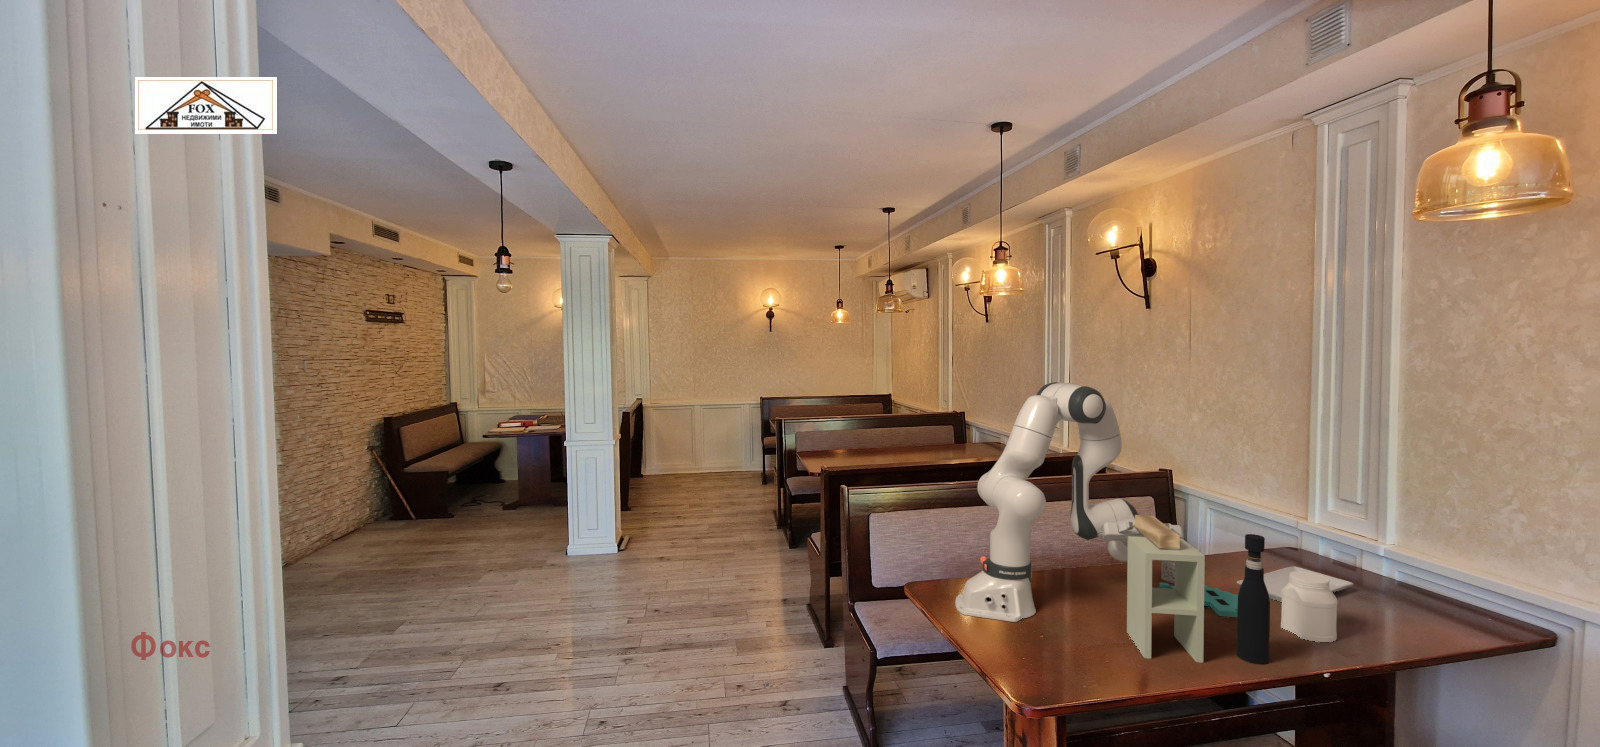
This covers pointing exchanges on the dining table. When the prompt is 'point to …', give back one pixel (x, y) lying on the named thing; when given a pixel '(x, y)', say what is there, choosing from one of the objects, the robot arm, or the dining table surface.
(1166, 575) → the grey speckled cup
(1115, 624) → the dining table surface
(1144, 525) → the block
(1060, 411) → the robot arm
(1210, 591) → the alien figure
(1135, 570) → the shelf stand
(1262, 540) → the wine bottle
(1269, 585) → the tray
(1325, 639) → the jar
